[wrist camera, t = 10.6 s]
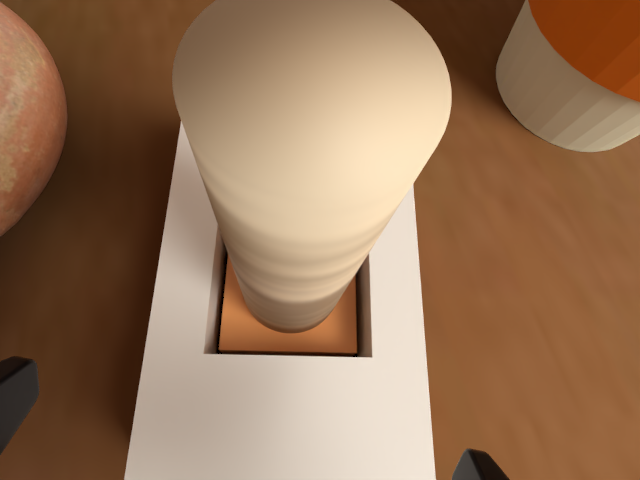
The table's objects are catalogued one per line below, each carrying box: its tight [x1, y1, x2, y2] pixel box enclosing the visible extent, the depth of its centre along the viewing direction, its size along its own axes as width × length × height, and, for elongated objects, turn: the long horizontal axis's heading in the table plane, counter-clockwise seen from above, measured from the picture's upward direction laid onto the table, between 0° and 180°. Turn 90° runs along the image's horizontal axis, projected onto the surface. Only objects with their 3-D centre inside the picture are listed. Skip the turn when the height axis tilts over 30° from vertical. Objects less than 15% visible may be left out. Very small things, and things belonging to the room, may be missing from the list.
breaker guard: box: [124, 121, 436, 480], centre depth 17 cm, size 14×10×3 cm
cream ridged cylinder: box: [172, 0, 451, 333], centre depth 12 cm, size 4×4×12 cm
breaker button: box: [219, 255, 357, 356], centre depth 18 cm, size 5×5×2 cm
